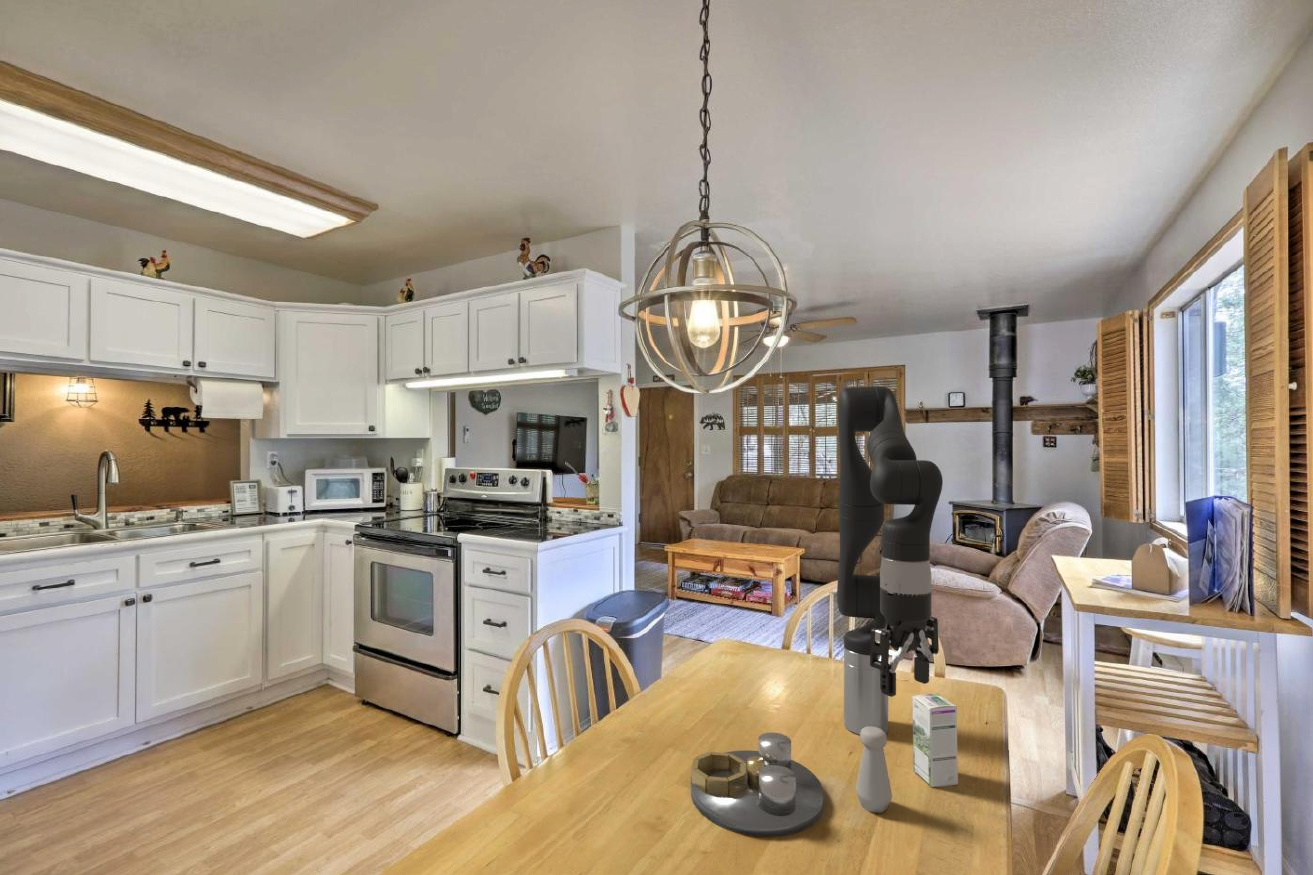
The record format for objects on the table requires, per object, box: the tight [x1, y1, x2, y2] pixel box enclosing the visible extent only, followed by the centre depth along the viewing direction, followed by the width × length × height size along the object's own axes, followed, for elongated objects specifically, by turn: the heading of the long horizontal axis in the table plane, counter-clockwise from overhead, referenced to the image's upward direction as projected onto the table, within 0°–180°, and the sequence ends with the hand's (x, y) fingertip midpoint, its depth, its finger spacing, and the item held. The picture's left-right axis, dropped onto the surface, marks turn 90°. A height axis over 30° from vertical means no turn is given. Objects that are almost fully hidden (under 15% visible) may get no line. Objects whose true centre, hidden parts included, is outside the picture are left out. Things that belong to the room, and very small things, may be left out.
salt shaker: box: [855, 726, 893, 814], centre depth 104 cm, size 6×6×13 cm
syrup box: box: [912, 693, 959, 788], centre depth 112 cm, size 6×6×14 cm
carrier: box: [690, 732, 824, 838], centre depth 107 cm, size 23×23×7 cm
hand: (905, 688), depth 95 cm, fingers open, 8 cm apart
